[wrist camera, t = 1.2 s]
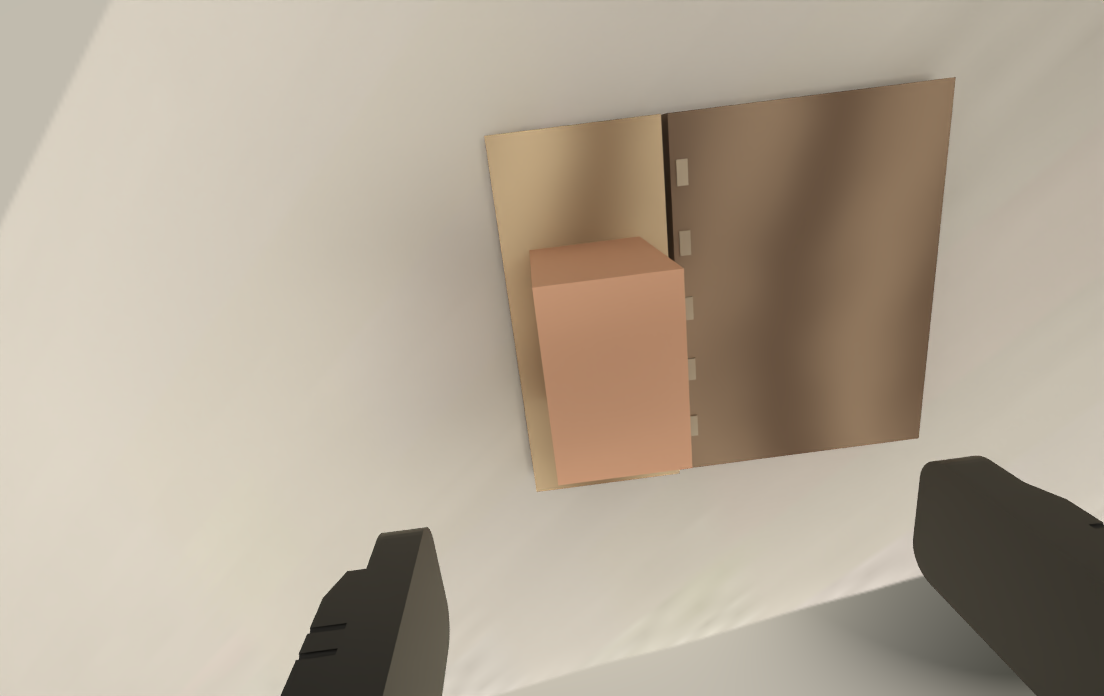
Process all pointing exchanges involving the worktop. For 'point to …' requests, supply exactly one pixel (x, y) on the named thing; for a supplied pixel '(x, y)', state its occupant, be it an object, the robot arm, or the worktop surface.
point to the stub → (594, 300)
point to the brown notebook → (807, 265)
